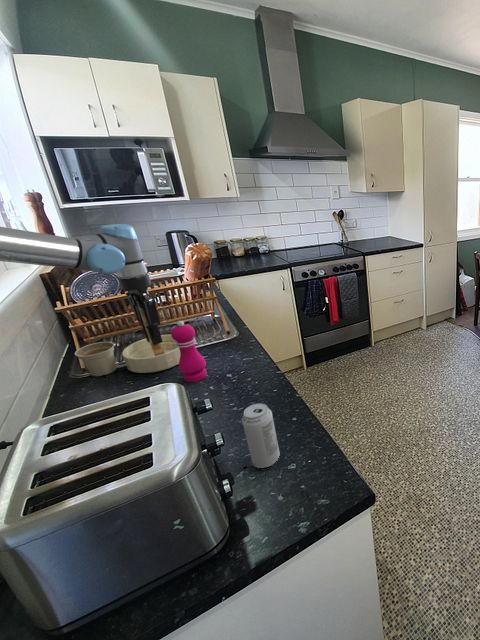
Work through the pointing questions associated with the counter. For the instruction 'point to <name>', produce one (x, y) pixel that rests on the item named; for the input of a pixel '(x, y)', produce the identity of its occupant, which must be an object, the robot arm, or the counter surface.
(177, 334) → the pepper mill
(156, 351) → the stick
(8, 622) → the counter surface
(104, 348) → the flower pot
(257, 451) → the energy drink can
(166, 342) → the bowl
